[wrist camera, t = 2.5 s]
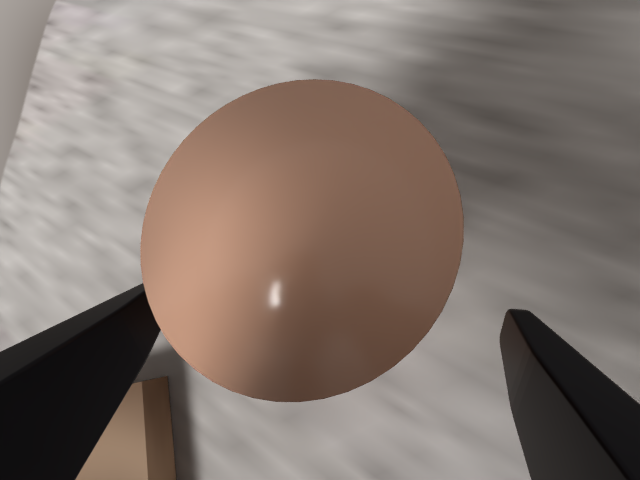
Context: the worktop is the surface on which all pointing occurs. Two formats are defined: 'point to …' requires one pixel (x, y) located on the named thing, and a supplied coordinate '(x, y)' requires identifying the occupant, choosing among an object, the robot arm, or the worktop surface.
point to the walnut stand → (136, 438)
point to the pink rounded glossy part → (302, 240)
